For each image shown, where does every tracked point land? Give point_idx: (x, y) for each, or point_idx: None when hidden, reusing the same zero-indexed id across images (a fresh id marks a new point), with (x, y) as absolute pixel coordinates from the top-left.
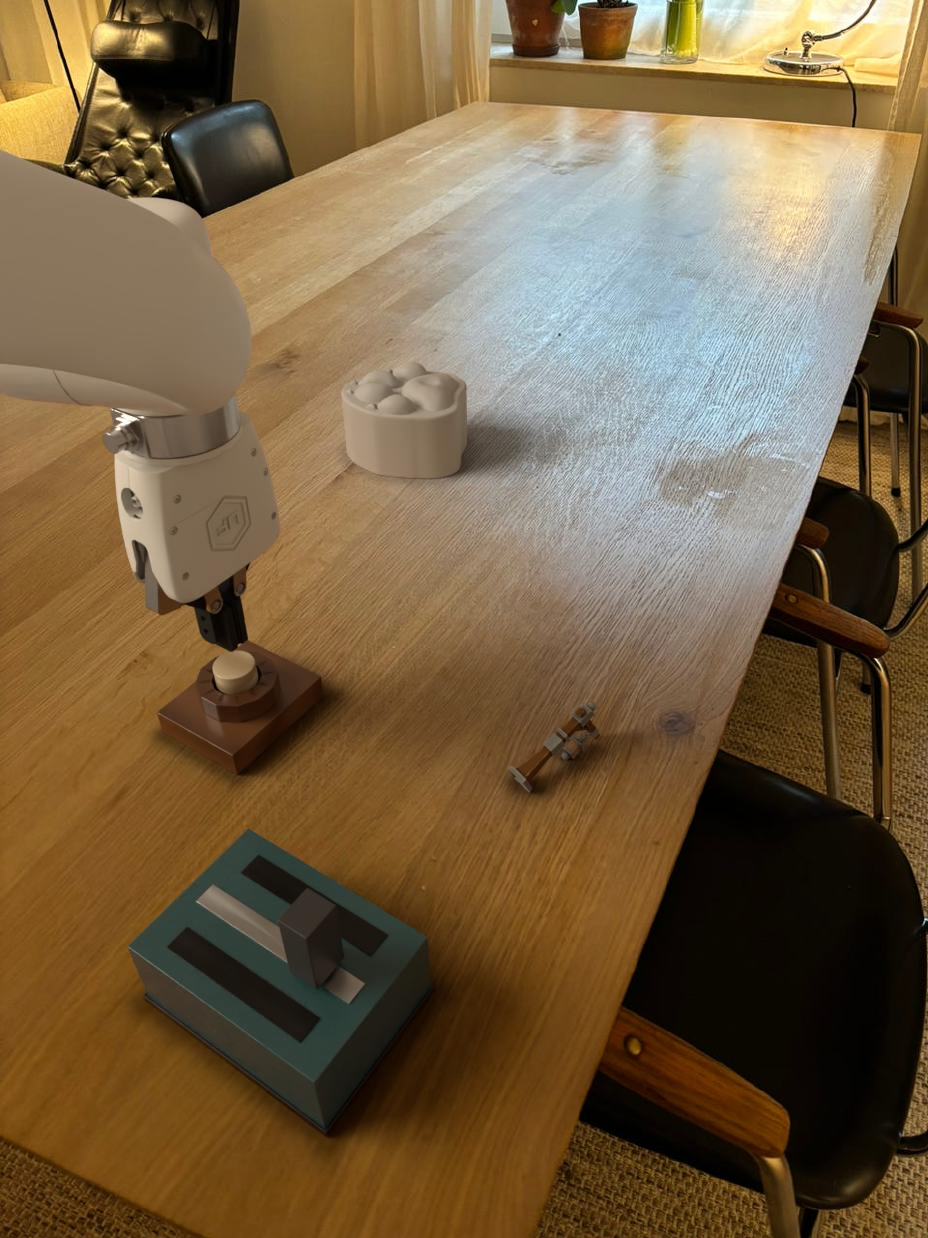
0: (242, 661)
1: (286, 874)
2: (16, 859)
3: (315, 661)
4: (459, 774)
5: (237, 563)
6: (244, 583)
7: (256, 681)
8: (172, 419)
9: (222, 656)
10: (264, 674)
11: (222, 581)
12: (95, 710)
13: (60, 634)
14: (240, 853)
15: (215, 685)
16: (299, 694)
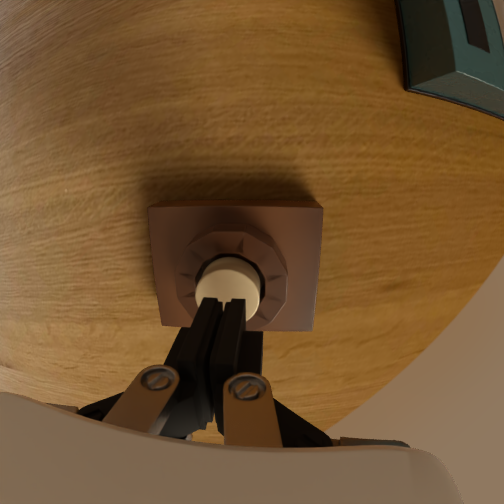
0: (214, 292)
1: (464, 7)
2: (465, 301)
3: (127, 248)
4: (174, 7)
5: (140, 465)
6: (140, 380)
7: (218, 259)
8: None
9: None
10: (202, 258)
11: (246, 452)
12: (316, 377)
13: None
14: (477, 64)
15: None
16: (187, 208)
